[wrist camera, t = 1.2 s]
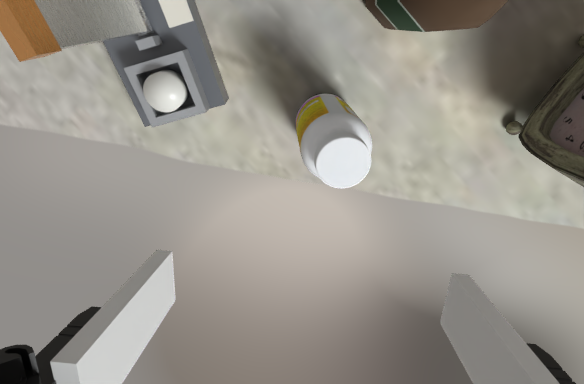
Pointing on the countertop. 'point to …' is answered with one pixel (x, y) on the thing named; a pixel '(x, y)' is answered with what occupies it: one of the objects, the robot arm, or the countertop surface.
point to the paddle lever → (68, 24)
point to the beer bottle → (433, 13)
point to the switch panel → (170, 60)
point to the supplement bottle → (333, 141)
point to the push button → (165, 90)
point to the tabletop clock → (558, 124)
